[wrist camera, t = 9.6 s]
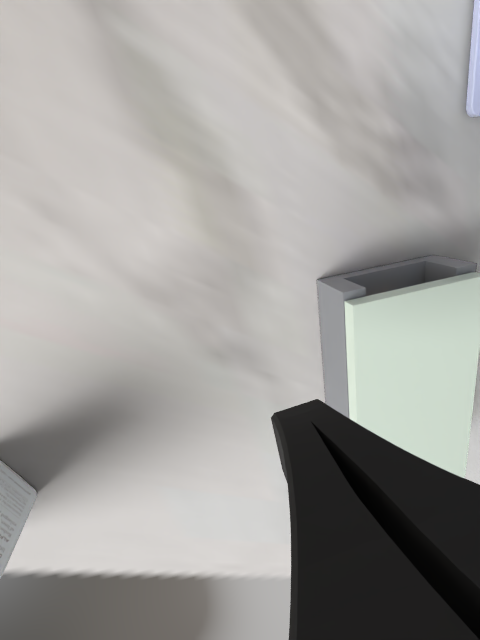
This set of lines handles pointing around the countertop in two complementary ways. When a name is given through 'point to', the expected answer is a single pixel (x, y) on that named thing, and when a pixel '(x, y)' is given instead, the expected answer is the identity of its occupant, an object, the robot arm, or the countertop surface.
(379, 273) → the grey open tray
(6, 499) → the skincare box
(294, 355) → the countertop surface
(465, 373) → the cover
